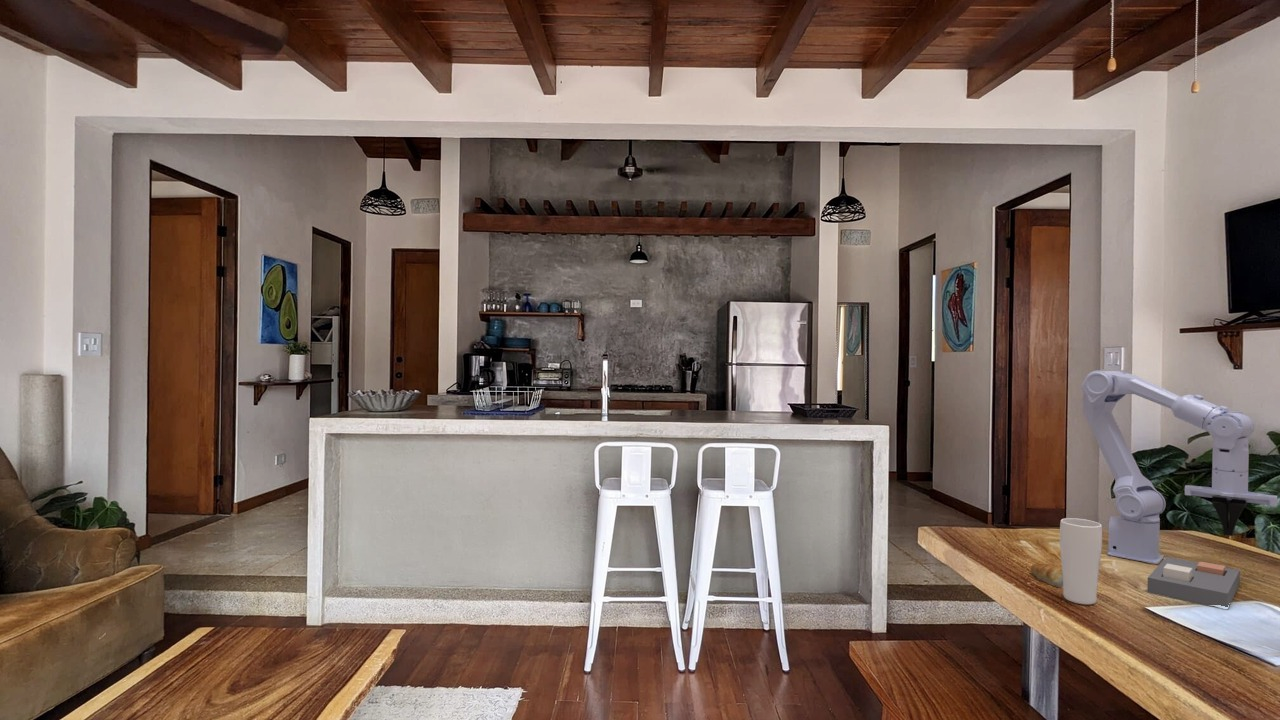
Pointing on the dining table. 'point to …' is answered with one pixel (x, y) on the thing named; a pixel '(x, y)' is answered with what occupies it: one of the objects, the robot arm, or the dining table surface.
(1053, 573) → the pastry
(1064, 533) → the drinking glass
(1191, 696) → the dining table surface
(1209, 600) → the key panel
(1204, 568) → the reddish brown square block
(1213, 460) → the robot arm
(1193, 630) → the dining table surface
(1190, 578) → the white key
